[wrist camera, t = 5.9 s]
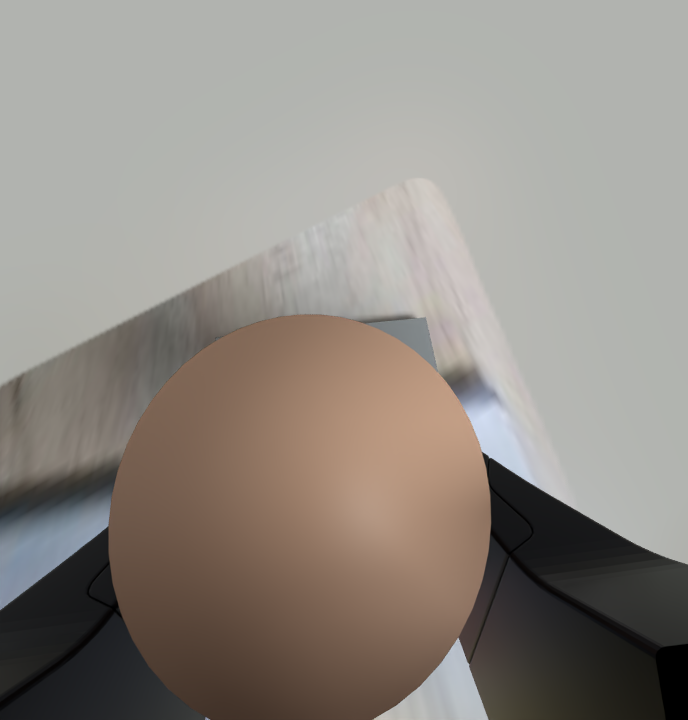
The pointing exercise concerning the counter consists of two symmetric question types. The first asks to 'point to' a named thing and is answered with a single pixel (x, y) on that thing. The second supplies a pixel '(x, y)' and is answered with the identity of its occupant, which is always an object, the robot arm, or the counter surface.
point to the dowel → (299, 523)
